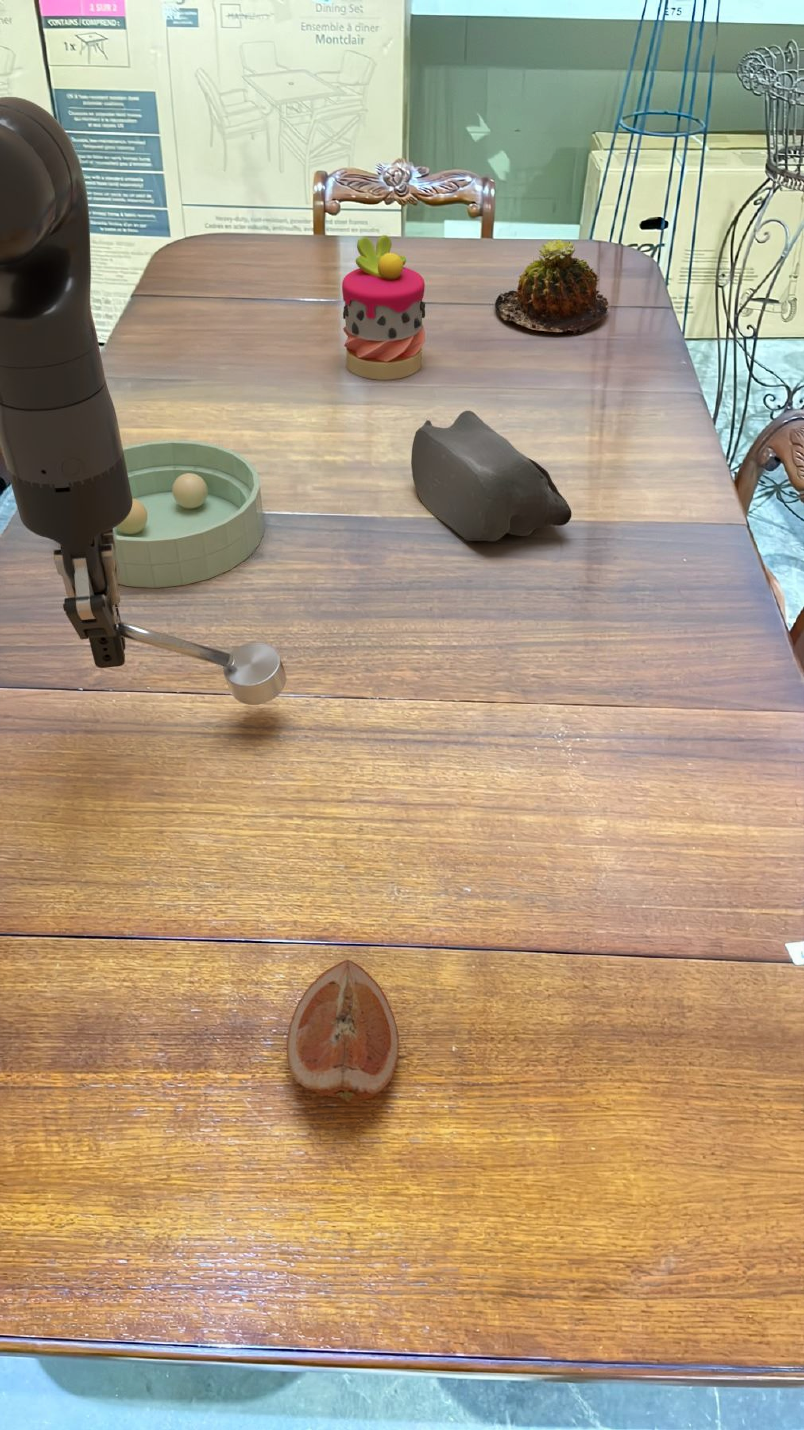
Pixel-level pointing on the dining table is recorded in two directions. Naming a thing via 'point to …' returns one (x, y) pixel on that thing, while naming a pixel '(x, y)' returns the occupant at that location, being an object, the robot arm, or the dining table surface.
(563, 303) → the cactus
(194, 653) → the ladle
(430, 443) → the rock
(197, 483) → the dumpling
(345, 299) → the cake
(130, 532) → the dumpling
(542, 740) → the dining table surface
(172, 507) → the bowl
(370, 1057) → the fruit slice
